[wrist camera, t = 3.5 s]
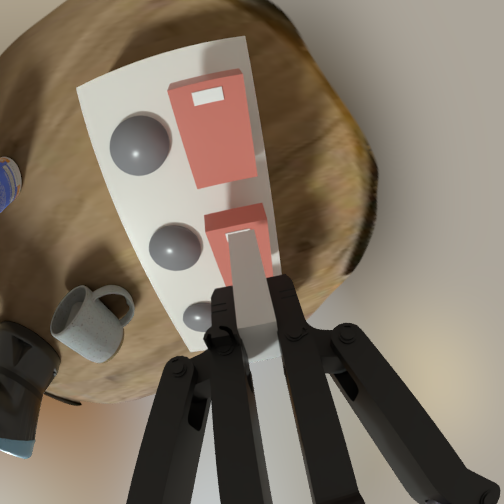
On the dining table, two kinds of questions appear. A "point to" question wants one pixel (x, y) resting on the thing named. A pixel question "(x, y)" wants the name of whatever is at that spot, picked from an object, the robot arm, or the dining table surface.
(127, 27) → the dining table surface
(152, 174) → the switch panel
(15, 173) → the pill bottle
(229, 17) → the dining table surface
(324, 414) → the robot arm
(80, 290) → the ceramic mug
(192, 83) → the block
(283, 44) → the dining table surface
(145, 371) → the dining table surface
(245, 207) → the block
